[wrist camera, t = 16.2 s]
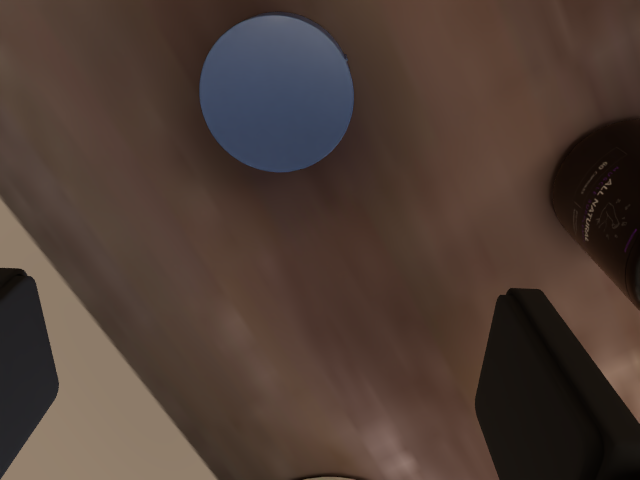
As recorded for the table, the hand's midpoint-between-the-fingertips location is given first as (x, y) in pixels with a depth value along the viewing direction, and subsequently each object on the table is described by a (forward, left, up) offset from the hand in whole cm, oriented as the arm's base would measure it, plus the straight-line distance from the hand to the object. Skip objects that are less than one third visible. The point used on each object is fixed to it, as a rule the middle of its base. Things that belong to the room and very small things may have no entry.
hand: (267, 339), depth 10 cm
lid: (0, +2, -15) cm, 15 cm away
